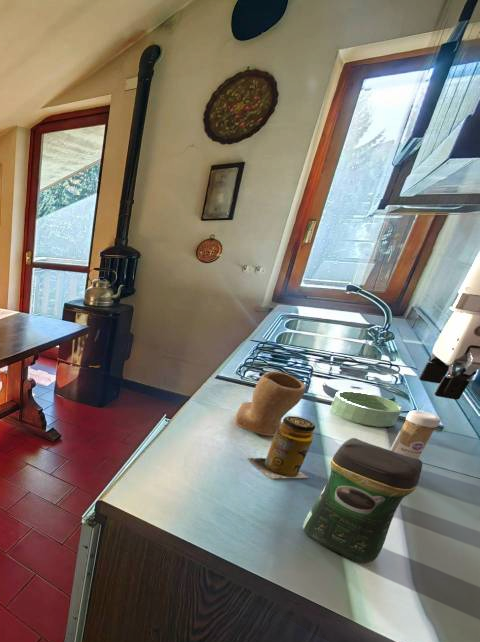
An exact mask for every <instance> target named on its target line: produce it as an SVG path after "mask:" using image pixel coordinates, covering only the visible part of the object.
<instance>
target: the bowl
mask: <svg viewBox="0 0 480 642" xmlns="http://www.w3.org/2000/svg"><path fill="white" fill-rule="evenodd" d="M329 408H330V410H331V411H332V412H333V414H336V415H337V416H338V417H340V418H342V419H345V420H347V421H349V422H351V423H356V424H360V425H364V426H369V427H374V428H375V427H376V428H377V427H378V428H384V427H392V426H395V424H396V423H397V421H398V419H399V417H400V415H401V413H402V411H403V409H404V408H403V407H402V405H400V404H399V403H397V402H396V401H393V400H391V399H389V398H386V397H383V396H379V395H377V394H372V393H368V392H363V391H357V390H339V391H337V392H336V393H335V395H334V397H333V399H332V402H331V404H330V405H329Z"/></svg>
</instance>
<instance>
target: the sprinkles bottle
mask: <svg viewBox="0 0 480 642" xmlns="http://www.w3.org/2000/svg"><path fill="white" fill-rule="evenodd" d="M441 421H442V418H441V417H439V415H436V414H433V413H431V412H427V411H423V410H417V409H415V410H414V409H413V410H409V412H408V413H407V415H406V416H405V422H403V425H402V427H401V429H400V430H399V432H398V433H397V435H396V437H395V439H394V440H393V443H392V445H391V446H390V449H389V450H390V451H393V452H396V453H399V454H402V455H405V456H408V457H412V458H416V459H419V460H420V457H421V455H422V453H423V452H424V450H425V448H426V445H427V443H428V442H429V441H430V438H431V436H432V434H433V432H434V431H435V430H436V428H438V427H439V424H440V423H441Z"/></svg>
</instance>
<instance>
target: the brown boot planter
mask: <svg viewBox="0 0 480 642" xmlns="http://www.w3.org/2000/svg"><path fill="white" fill-rule="evenodd" d="M306 390H307V387H306V385H305V384H304V383H303V381H301V380H300V379H298V378H297V377H295V376H292V375H291V374H288V373H285V372H281V371H267V372H265V373H264V374H262V375H261V377H260V378H259V379H258V381H257V383H256V386H255V387H254V389H253V392H252V398H251V399H252V400H251V401H244V402H242V403H241V404H240V406H239V407H238V409H237V411H236V413H235V416H234V424H235V425H236V426H238V427H239V428H241V429H243V430H245V431H248V432H252V433H254V434H258V435H261V436H268V437H272V436H273V437H274V436H275V433H276V431H277V429H278V428H279V427H280V426H281V424H282V420H283V418H284V416H285V415H286V414H287V413H288V412H290V411H291V410H292V409H294V408H295V406H297V405H298V403H299V402H301V400H302V398H303V396H304V395H305V394H306Z"/></svg>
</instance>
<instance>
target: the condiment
mask: <svg viewBox="0 0 480 642" xmlns="http://www.w3.org/2000/svg"><path fill="white" fill-rule="evenodd" d="M315 429H316V424H315V423H313V422H312V421H311V420H309V419H306V418H304V417H300V416H296V415H295V416H292V415H288V416H287V415H286V416H285V417H283V418H282V421H281V426H280V427H279V428H278V429H277V431H276V433H275V435H273V439H272V442H271V444H270V447H269V449H268V453H267V455H266V457H258V458H257V457H247V458H246V459H247V460H248V461H249V462H250V464H252V465H253V466H254V467H256V468H257V469H258V470H259V471H260V472H262V473H263V474H264V475H265V476H267V477H268V478H269V479H309V476H308V475H306V474H305V473H303V472H301V471H300V470H301V468H302V466H303V463H304V461H305V459H306V456H307V454H308V451H309V449H310V447H311V445H312V443H313V440H314V439H313V434H314V431H315Z"/></svg>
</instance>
